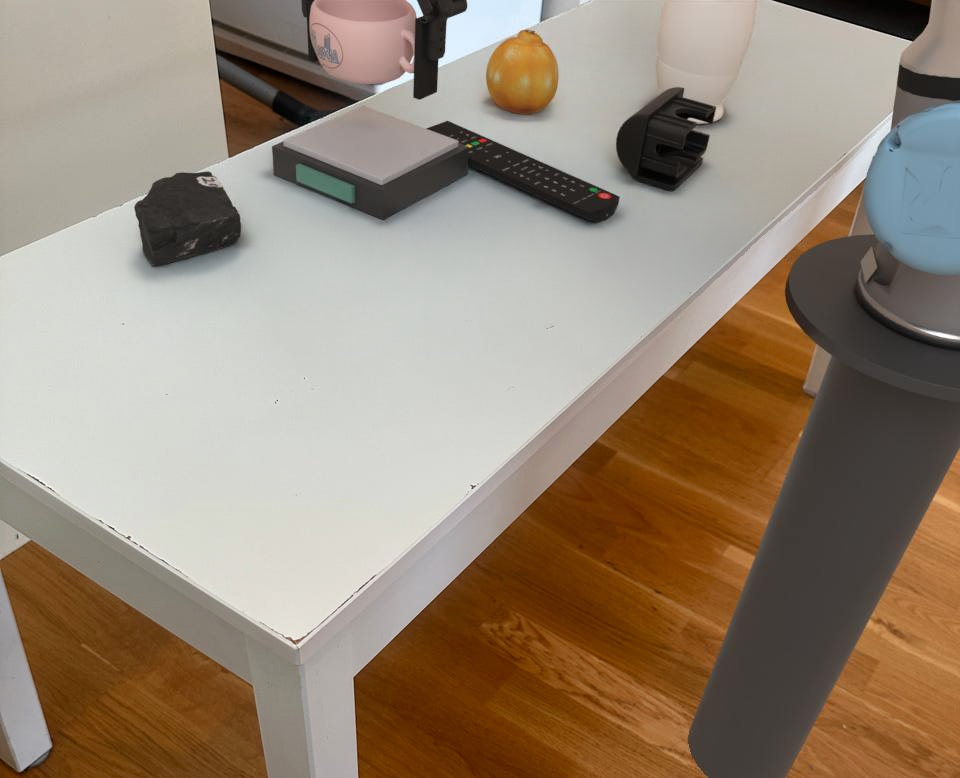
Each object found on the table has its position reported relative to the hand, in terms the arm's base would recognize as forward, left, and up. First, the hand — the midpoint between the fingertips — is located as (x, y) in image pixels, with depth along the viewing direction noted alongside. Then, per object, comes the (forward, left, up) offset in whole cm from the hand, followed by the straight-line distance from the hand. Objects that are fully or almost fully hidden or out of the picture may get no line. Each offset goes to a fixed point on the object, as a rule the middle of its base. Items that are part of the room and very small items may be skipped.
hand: (371, 76), depth 97 cm
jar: (-16, -40, -9) cm, 44 cm away
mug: (0, 0, 0) cm, 0 cm away
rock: (+2, +23, -10) cm, 25 cm away
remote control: (-11, -10, -10) cm, 18 cm away
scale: (0, 0, -9) cm, 9 cm away
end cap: (-21, -23, -10) cm, 33 cm away
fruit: (-1, -26, -9) cm, 28 cm away
